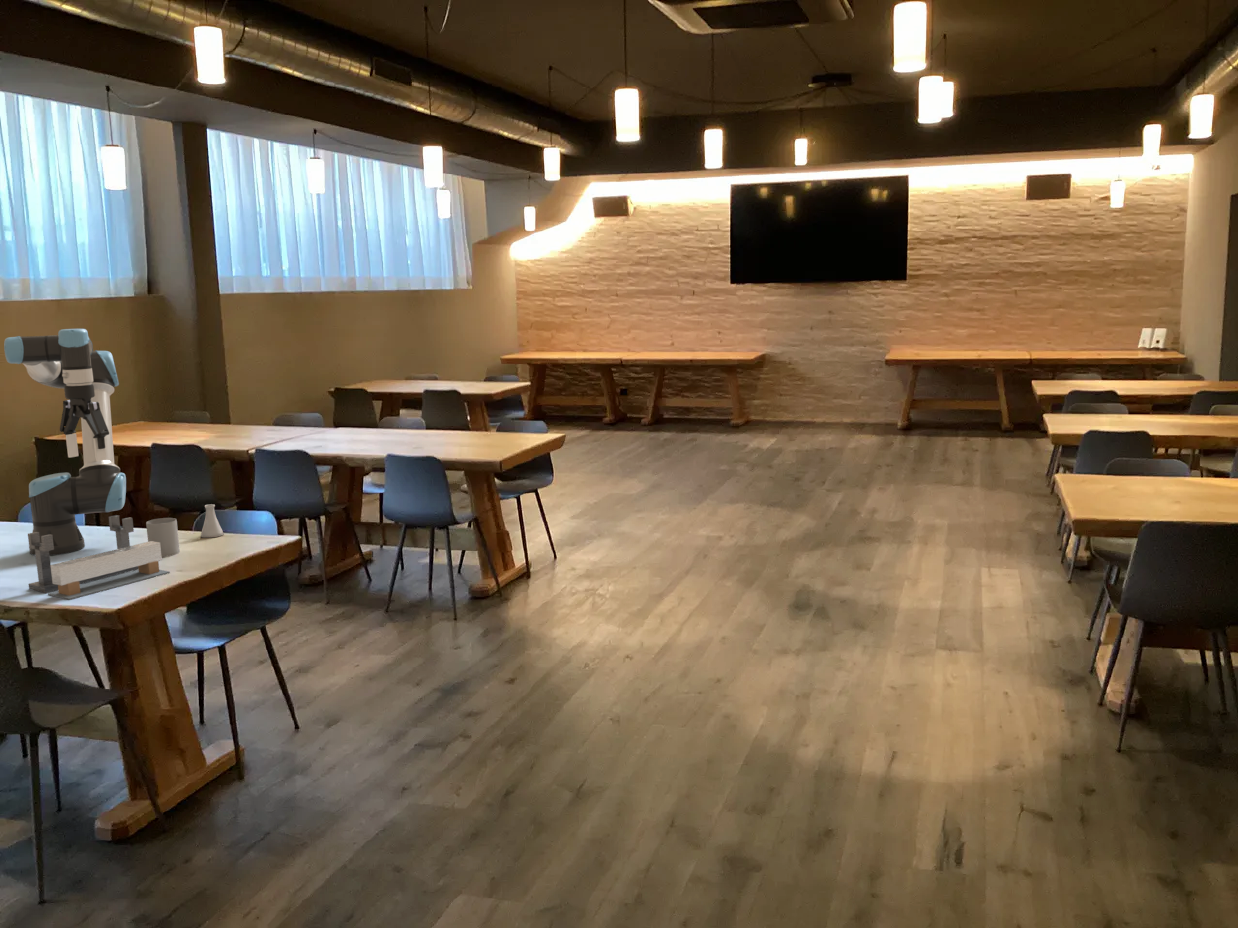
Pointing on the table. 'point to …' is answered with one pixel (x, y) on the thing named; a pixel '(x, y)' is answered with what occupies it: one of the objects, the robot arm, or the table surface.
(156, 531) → the cup
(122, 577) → the mat
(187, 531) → the table surface
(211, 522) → the flask
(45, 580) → the hook stand
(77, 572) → the white bar
